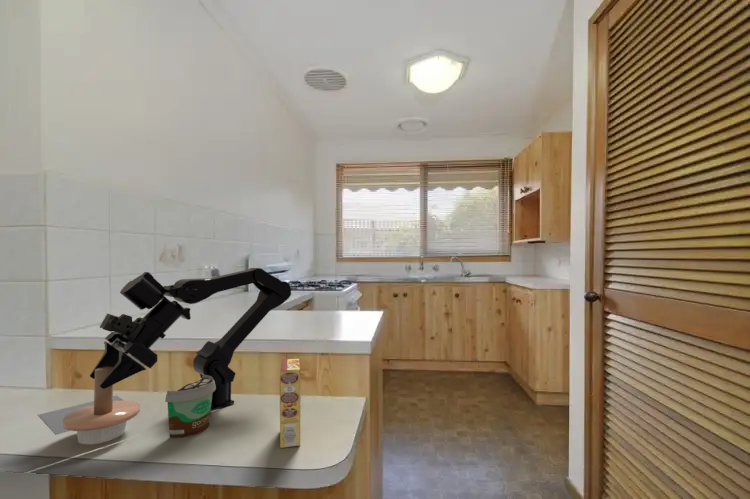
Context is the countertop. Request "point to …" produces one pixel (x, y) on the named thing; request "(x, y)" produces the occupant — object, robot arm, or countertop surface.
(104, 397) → the lid
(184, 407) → the food container
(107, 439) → the ramekin
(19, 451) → the countertop surface
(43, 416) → the mat
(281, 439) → the candy box
